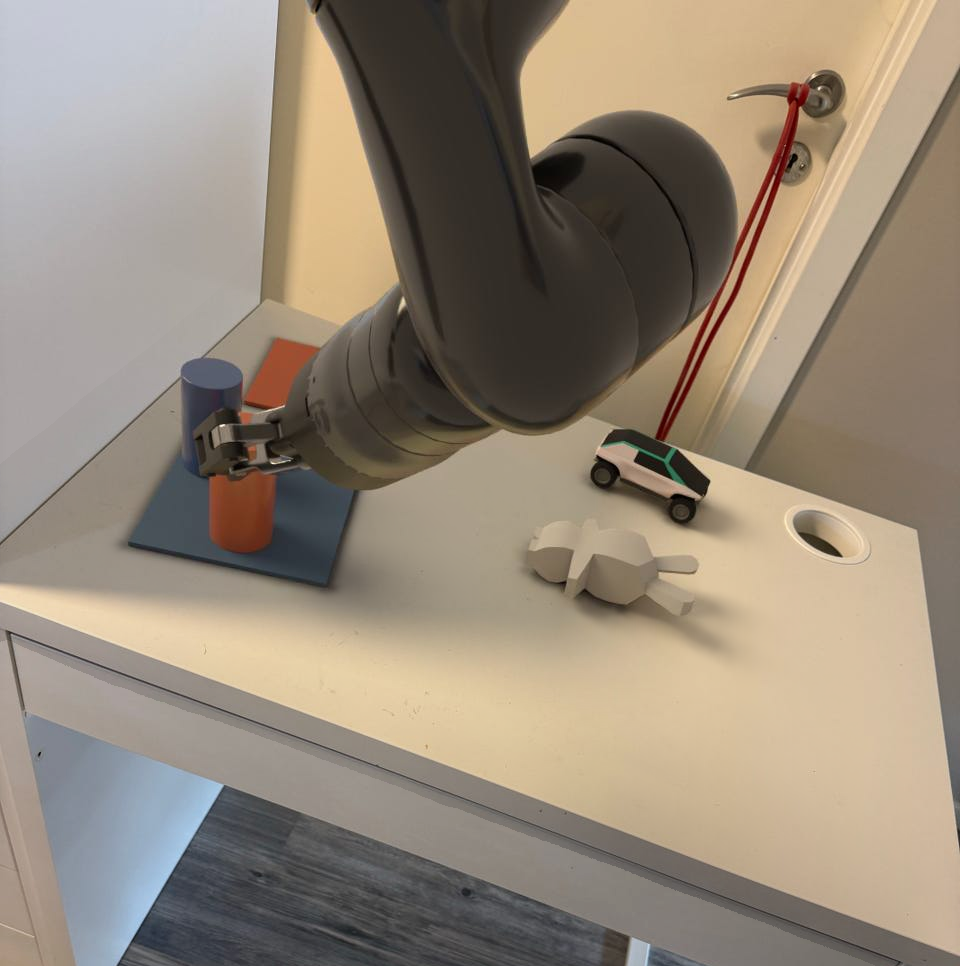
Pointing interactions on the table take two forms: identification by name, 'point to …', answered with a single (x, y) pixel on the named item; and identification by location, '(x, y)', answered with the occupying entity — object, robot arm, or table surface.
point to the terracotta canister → (242, 508)
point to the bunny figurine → (608, 564)
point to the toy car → (650, 471)
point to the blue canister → (206, 399)
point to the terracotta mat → (278, 373)
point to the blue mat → (296, 535)
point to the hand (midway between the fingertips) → (296, 459)
